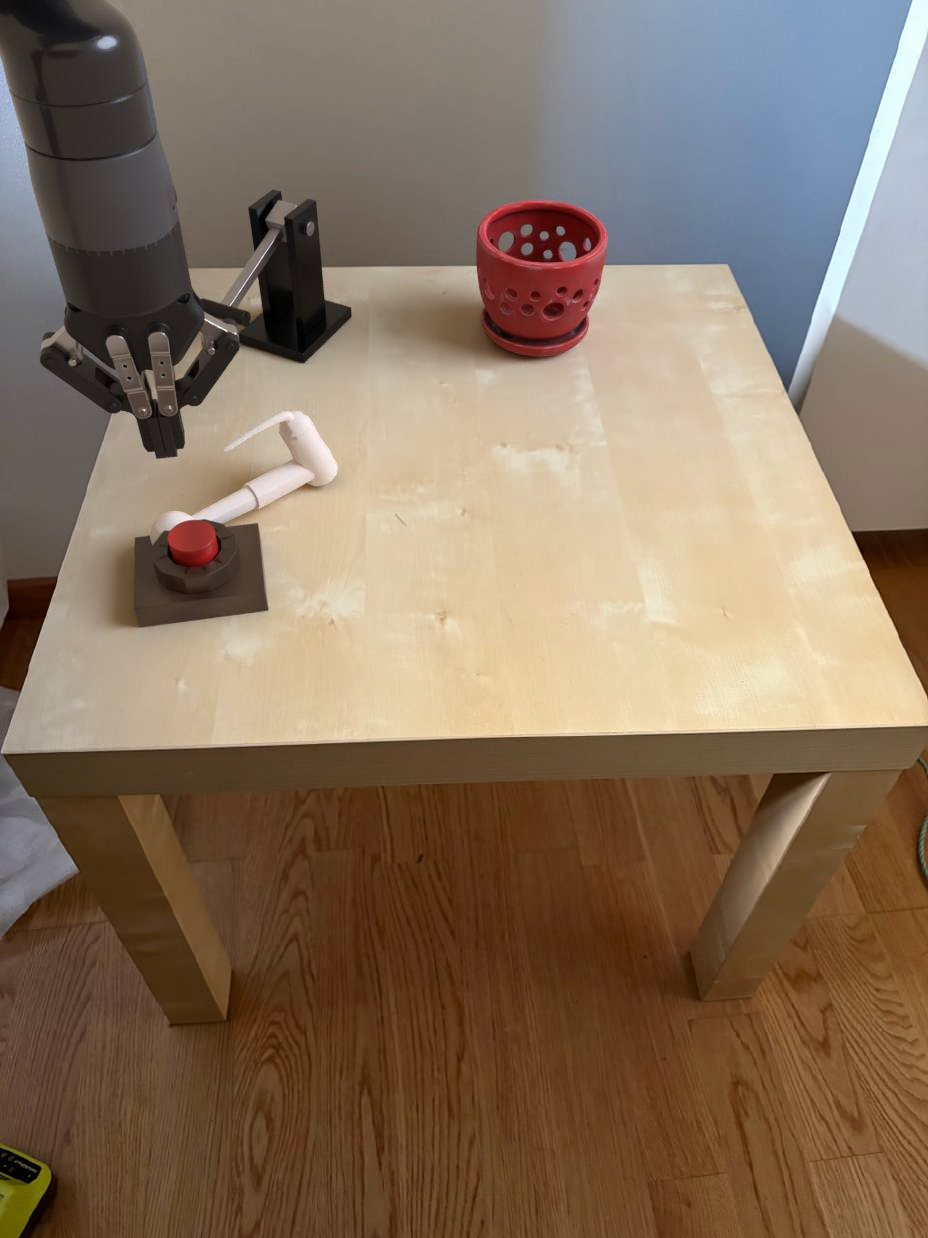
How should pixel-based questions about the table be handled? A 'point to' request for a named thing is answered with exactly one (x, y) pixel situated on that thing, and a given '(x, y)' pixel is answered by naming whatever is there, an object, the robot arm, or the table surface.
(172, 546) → the button
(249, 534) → the button block
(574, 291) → the flower pot
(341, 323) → the bracket
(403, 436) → the table surface
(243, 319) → the lever
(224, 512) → the faucet
